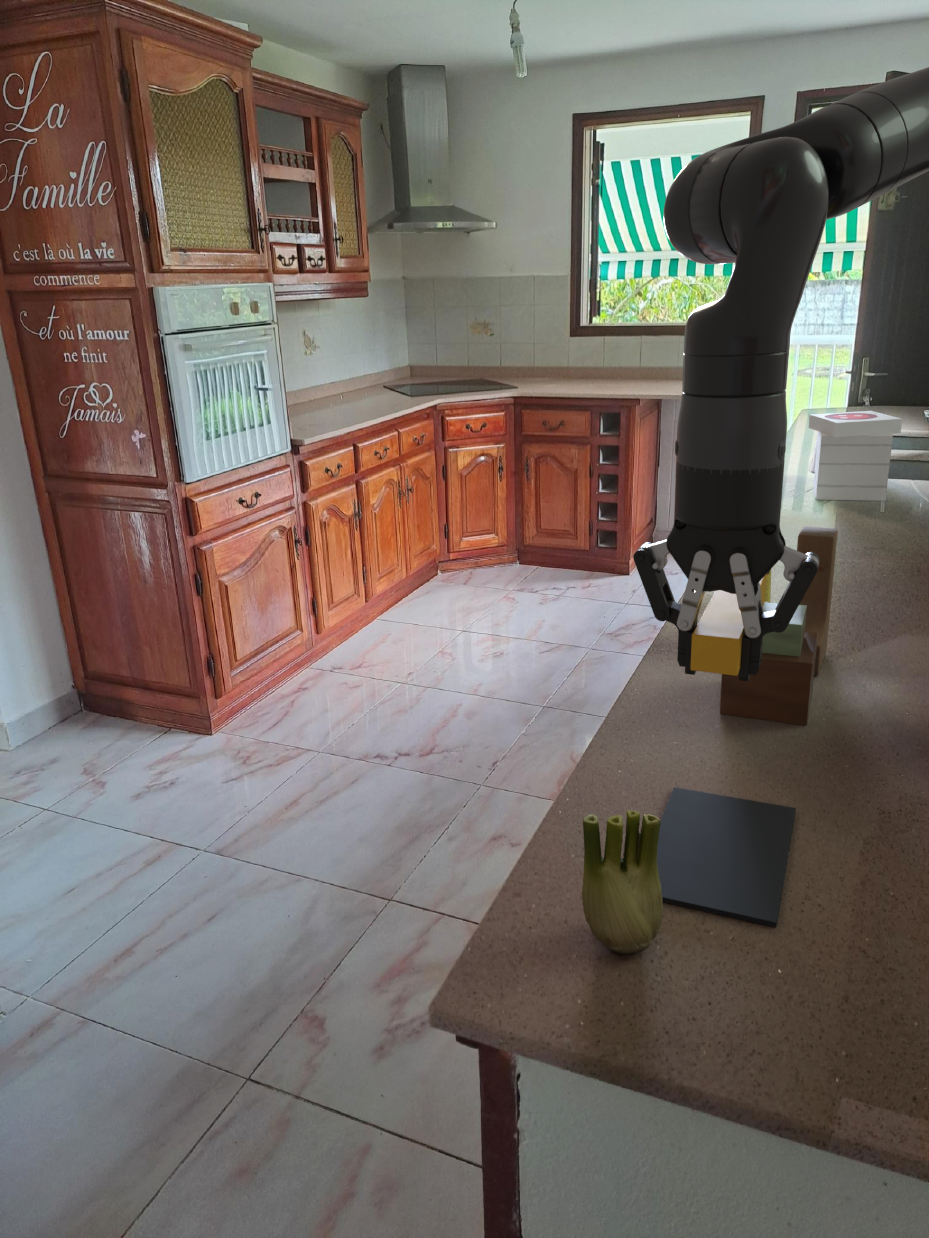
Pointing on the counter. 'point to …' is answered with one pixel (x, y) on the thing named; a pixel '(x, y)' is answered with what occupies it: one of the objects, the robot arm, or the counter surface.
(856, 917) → the counter surface
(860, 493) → the pizza boxes
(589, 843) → the fennel bulb
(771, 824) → the mat
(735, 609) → the bar
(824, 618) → the wooden block
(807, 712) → the green-topped brown box
